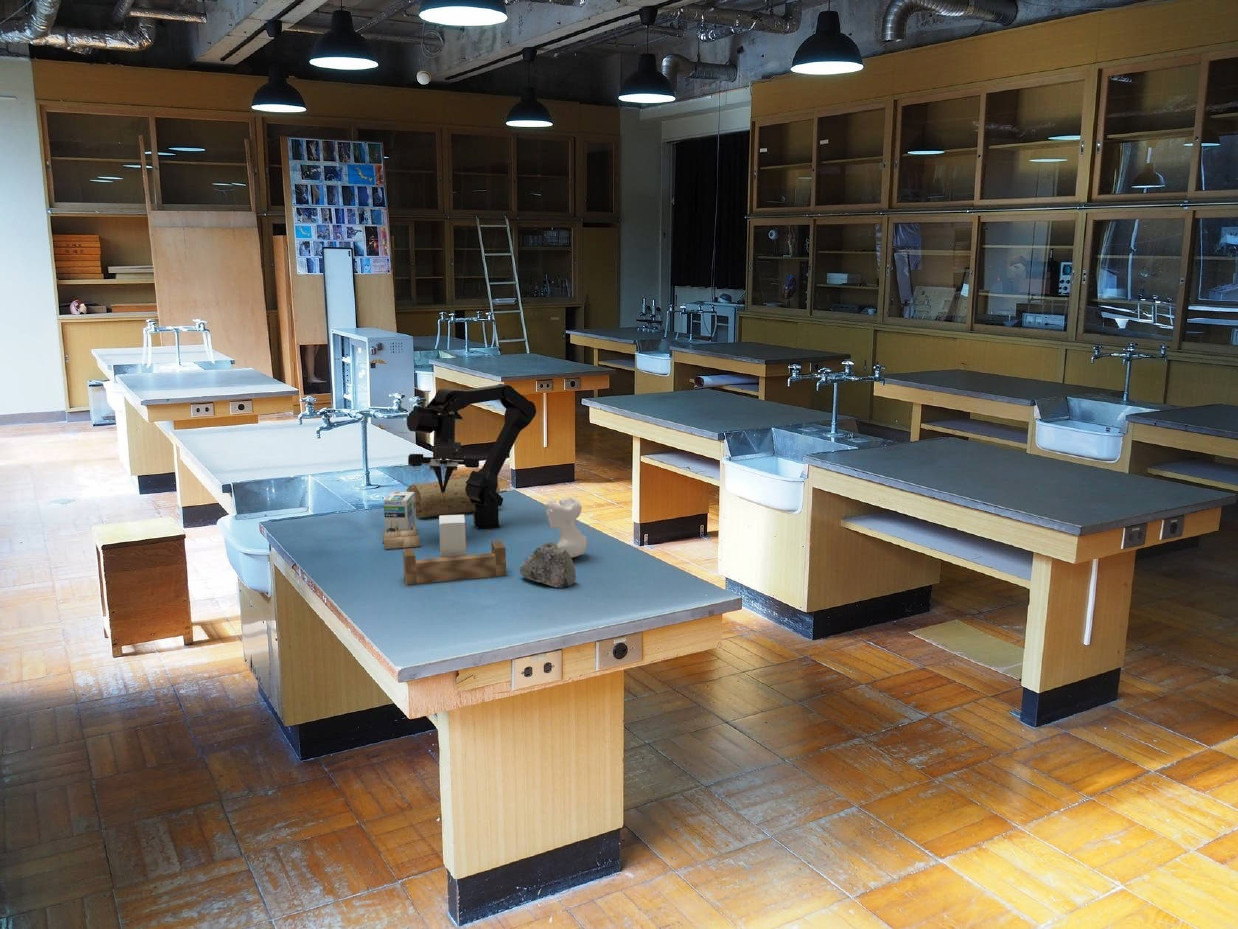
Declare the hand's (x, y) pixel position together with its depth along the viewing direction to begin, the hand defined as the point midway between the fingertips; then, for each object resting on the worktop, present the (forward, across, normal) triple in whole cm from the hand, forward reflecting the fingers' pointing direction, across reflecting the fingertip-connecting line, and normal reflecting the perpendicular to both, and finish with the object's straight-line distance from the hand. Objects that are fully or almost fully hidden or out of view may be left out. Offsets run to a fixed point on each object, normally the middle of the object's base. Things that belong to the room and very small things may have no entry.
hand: (442, 492), depth 277 cm
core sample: (+3, +4, +34) cm, 34 cm away
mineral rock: (+23, +25, -34) cm, 49 cm away
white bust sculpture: (+17, +31, -17) cm, 39 cm away
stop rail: (+22, +3, -26) cm, 35 cm away
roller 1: (+11, -11, +4) cm, 16 cm away
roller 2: (+15, -10, -1) cm, 18 cm away
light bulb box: (+11, -11, +14) cm, 20 cm away
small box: (+21, +3, -21) cm, 30 cm away
